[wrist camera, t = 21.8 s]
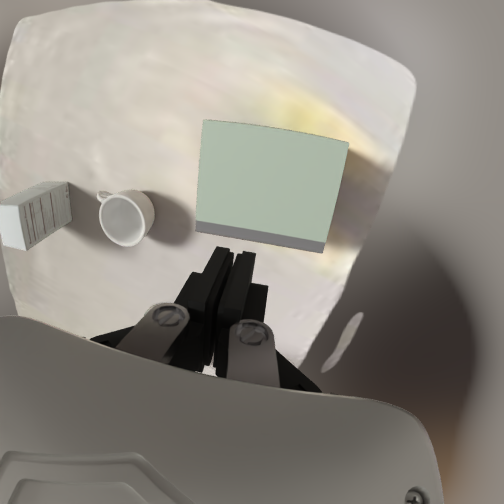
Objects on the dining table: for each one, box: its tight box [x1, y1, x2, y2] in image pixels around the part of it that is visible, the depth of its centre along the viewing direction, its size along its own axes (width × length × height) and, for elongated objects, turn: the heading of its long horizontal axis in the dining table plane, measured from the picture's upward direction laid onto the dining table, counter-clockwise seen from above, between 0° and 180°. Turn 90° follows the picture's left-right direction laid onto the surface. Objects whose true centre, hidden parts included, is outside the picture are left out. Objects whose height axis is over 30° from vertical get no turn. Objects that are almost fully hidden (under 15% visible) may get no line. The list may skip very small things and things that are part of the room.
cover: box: [195, 120, 349, 253], centre depth 29 cm, size 12×14×1 cm
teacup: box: [97, 190, 155, 247], centre depth 39 cm, size 10×8×5 cm
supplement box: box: [0, 182, 72, 251], centre depth 37 cm, size 7×7×13 cm
